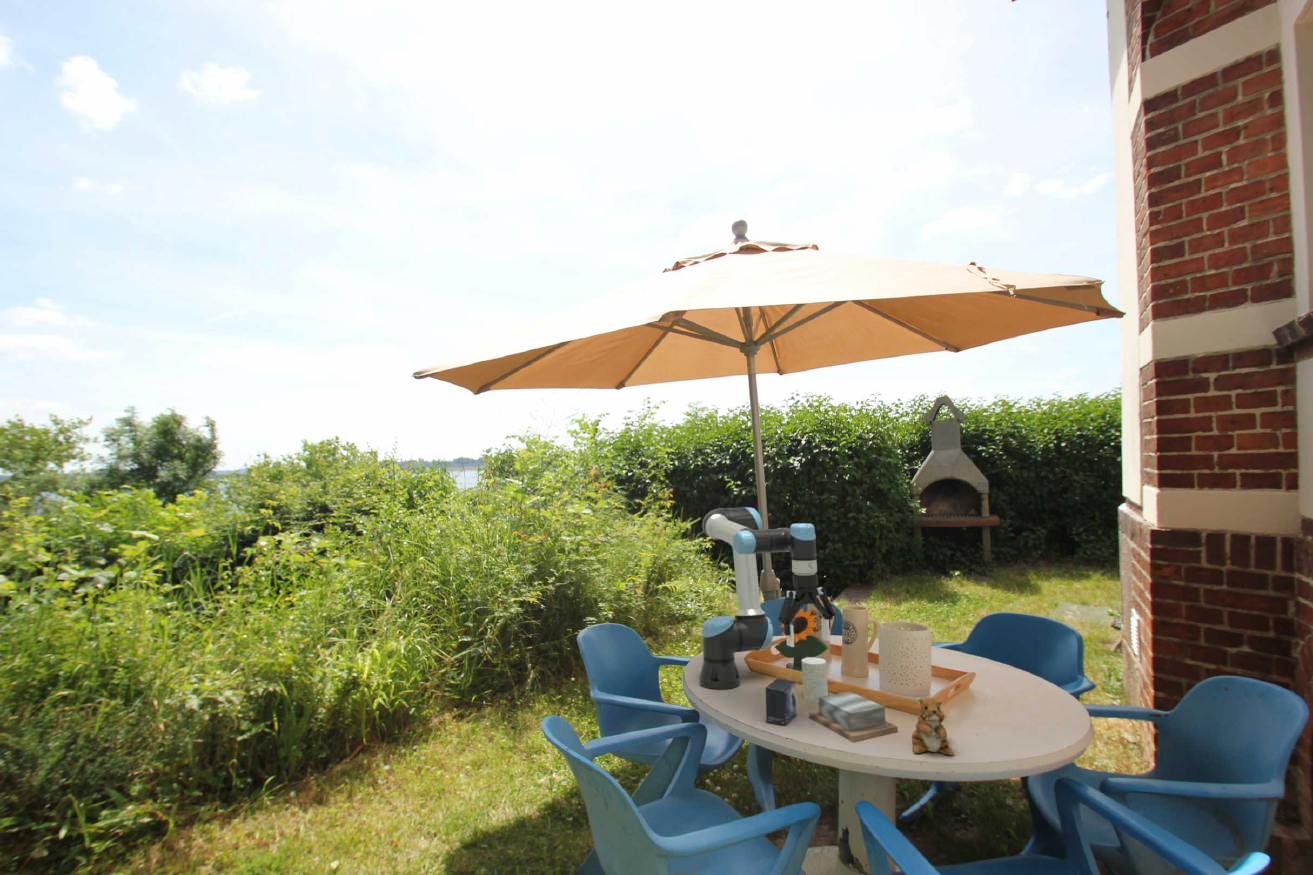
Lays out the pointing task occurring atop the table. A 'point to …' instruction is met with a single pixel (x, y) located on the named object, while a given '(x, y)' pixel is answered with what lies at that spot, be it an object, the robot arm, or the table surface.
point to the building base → (854, 734)
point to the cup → (814, 678)
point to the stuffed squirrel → (930, 729)
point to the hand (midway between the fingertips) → (808, 643)
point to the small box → (780, 702)
